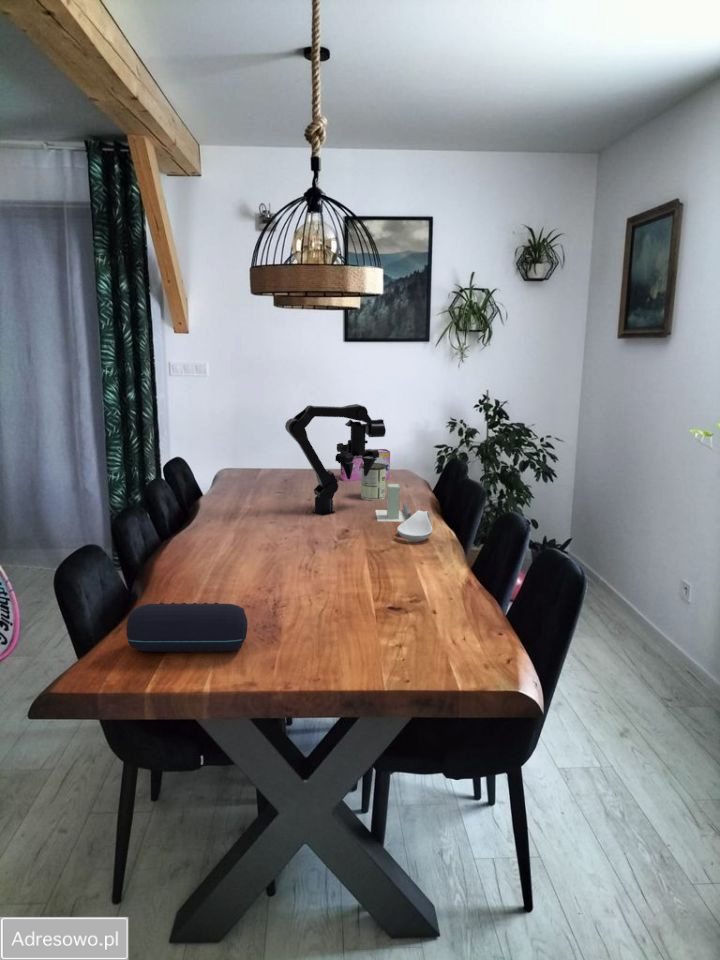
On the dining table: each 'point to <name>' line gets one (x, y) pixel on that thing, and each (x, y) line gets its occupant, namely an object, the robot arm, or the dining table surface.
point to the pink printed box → (357, 469)
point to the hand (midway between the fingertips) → (357, 477)
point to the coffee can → (373, 482)
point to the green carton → (393, 501)
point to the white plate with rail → (403, 517)
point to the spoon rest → (416, 527)
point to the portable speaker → (187, 627)
